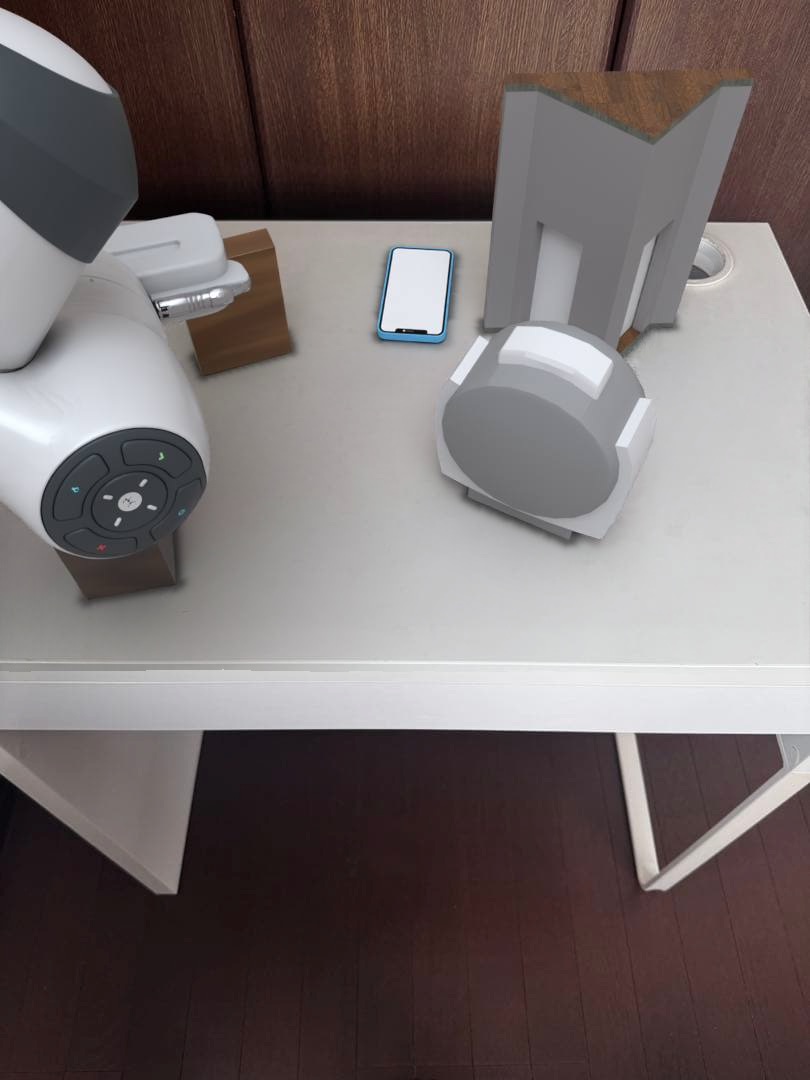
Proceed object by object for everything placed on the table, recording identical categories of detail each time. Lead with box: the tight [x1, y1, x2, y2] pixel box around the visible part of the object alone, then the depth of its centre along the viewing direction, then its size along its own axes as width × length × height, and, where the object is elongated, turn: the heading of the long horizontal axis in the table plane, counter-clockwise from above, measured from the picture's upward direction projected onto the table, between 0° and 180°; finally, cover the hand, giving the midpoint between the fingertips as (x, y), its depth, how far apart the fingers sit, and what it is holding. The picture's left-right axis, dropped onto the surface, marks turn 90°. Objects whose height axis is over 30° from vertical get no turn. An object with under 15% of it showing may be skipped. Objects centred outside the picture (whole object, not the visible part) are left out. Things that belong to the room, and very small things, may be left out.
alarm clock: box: [434, 321, 657, 540], centre depth 76 cm, size 18×8×20 cm, turn 62°
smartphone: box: [376, 245, 454, 343], centre depth 99 cm, size 8×1×15 cm
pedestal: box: [52, 532, 177, 600], centre depth 72 cm, size 8×8×22 cm
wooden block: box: [184, 227, 293, 377], centre depth 89 cm, size 3×10×14 cm, turn 111°
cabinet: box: [482, 67, 756, 356], centre depth 83 cm, size 21×10×28 cm, turn 92°
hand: (43, 238), depth 56 cm, fingers closed on toy, 5 cm apart
